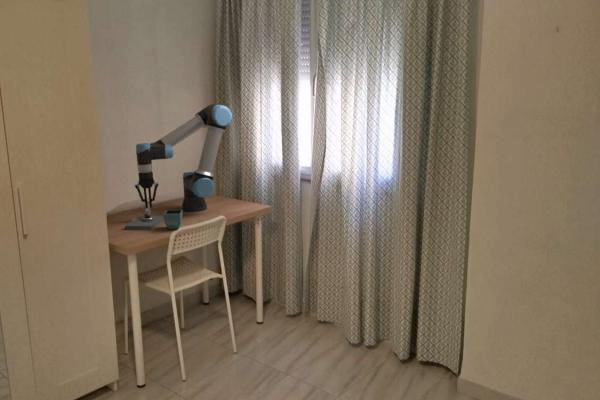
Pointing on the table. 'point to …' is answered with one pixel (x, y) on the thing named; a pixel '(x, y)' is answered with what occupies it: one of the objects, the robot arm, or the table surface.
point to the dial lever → (147, 216)
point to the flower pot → (173, 218)
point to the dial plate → (143, 223)
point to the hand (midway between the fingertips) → (149, 213)
